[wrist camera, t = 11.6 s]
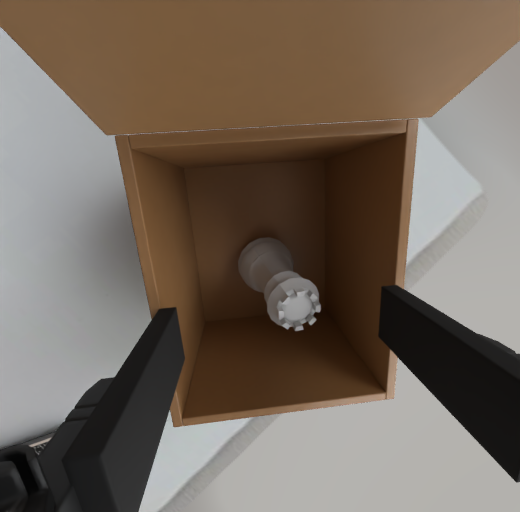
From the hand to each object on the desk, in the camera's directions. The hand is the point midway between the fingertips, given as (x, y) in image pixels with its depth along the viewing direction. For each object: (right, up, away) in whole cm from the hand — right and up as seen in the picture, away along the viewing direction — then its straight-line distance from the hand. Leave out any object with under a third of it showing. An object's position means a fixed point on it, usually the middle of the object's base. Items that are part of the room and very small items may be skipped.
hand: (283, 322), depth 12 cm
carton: (-1, +4, +10) cm, 11 cm away
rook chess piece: (-1, +3, +9) cm, 10 cm away
